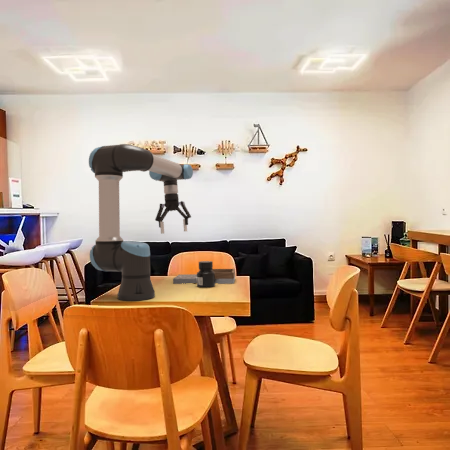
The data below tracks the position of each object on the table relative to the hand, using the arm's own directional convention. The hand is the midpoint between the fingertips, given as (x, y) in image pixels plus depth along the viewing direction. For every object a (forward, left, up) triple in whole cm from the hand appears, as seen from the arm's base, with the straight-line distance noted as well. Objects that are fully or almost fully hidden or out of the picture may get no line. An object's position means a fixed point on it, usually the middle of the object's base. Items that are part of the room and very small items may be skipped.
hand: (174, 232), depth 209 cm
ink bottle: (-13, -26, -26) cm, 39 cm away
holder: (+4, -26, -23) cm, 35 cm away
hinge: (+1, -18, -26) cm, 32 cm away
